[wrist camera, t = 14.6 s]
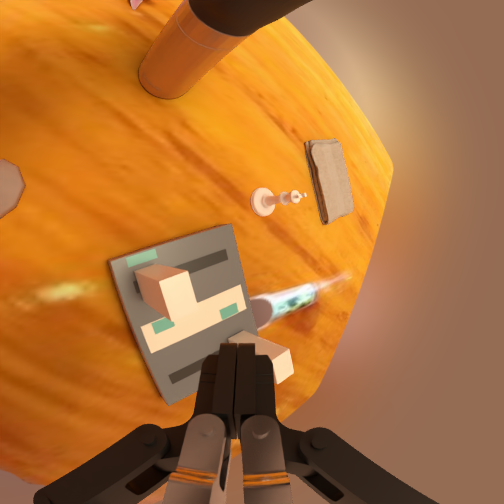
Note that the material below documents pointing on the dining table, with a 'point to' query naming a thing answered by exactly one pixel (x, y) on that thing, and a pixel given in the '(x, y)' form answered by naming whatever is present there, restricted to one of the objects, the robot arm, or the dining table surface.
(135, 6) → the lily
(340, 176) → the washcloth
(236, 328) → the switch bank
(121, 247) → the dining table surface
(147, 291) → the tab
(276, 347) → the tab
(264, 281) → the dining table surface
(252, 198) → the chess piece
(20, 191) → the flask
